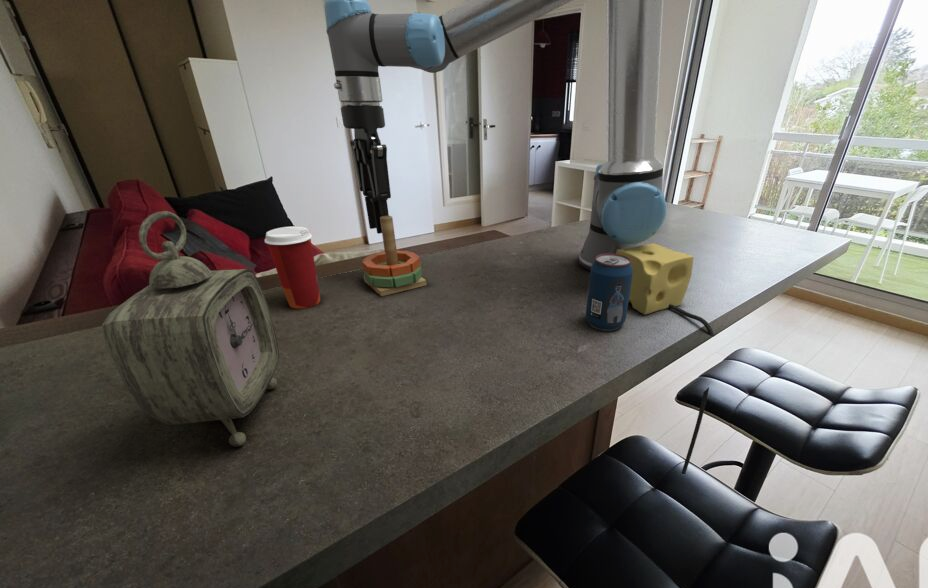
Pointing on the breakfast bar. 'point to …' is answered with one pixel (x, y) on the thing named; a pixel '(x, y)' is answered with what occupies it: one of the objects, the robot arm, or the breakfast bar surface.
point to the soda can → (609, 291)
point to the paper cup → (295, 265)
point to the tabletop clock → (194, 339)
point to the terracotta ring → (392, 270)
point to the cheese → (657, 277)
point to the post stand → (392, 258)
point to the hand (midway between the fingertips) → (380, 229)
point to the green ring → (394, 278)
